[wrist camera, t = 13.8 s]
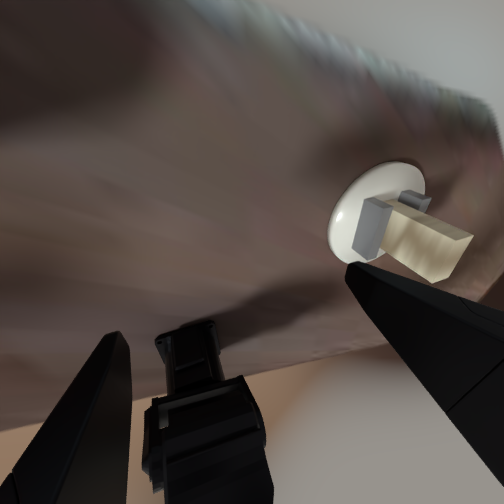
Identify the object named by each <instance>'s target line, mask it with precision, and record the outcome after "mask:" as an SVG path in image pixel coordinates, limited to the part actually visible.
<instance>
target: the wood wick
mask: <svg viewBox="0 0 504 504" xmlns="http://www.w3.org/2000/svg"><path fill="white" fill-rule="evenodd" d="M383 202H385V203H387V204H390V205H392V206H394V207H393V210H392V213H391V216H390V219H389V222H388V225H387V228H386V231H385V234H384V237H383V239H382V242H381V245H380V248H381V249H382V250H384V251H385V252H387V253H388V254H390V255H391V256H393V257H394V258H395V259H397V260H398V261H400V262H401V263H403V264H404V265H406V266H407V267H409V268H410V269H412V270H413V271H415V272H416V273H418V274H419V275H420V276H422V277H423V278H425V279H426V280H428V281H429V282H431V283H435V282H437V281H440V280H443V279H446V278H448V277H449V276H450V274H451V272H452V271H453V269H454V267H455V266H456V264H457V262H458V261H459V259H460V257H461V256H462V254H463V252H464V251H465V249H466V247H467V246H468V244H469V242H470V241H471V239H472V238H473V236H474V235H472V234H470V233H467V232H465V231H463V230H461V229H459V228H456V227H454V226H452V225H450V224H447V223H445V222H443V221H441V220H438V219H436V218H434V217H432V216H429V215H427V214H425V213H423V212H420V211H418V210H416V209H414V208H411V207H409V206H407V205H405V204H402V203H400V202H398V201H396V200H393V199H390V200H386V201H383Z"/></svg>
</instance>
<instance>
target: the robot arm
mask: <svg viewBox="0 0 504 504" xmlns="http://www.w3.org/2000/svg"><path fill="white" fill-rule="evenodd" d="M345 282H346V284H347V285H348V287H349V288H350V290H351V291H352V293H353V294H354V296H355V298H356V299H357V301H358V302H359V304H360V305H361V307H362V308H363V310H364V311H365V313H366V314H367V315H368V317H369V318H370V319H371V320H372V322H373V323H374V324H375V325H376V327H377V328H378V329H379V330H380V332H381V333H382V334H383V336H384V337H385V338H386V339H387V341H388V342H389V343H390V344H391V345H392V347H393V348H394V349H395V351H396V352H397V353H398V354H399V356H400V357H401V358H402V359H403V361H404V362H405V363H406V364H407V366H408V367H409V368H410V370H411V371H412V372H413V373H414V375H415V376H416V377H417V378H418V380H419V381H420V382H421V383H422V385H423V386H424V387H425V388H426V390H427V391H428V392H429V393H430V395H431V396H432V397H433V399H434V400H435V401H436V402H437V404H438V405H439V406H440V407H441V409H442V410H443V411H444V412H445V414H446V415H447V416H448V418H449V419H450V420H451V422H452V423H453V424H454V425H455V427H456V428H457V429H458V430H459V432H460V433H461V434H462V435H463V437H464V438H465V439H466V440H467V442H468V443H469V444H470V446H471V447H472V448H473V449H474V451H475V452H476V453H477V454H478V456H479V457H480V458H481V459H482V461H483V462H484V463H485V464H486V466H487V467H488V468H489V469H490V471H491V472H492V473H493V475H494V476H495V477H496V478H497V480H498V481H499V482H500V483H501V484H502V486H503V487H504V311H501V310H498V309H495V308H491V307H488V306H485V305H482V304H479V303H477V302H474V301H471V300H468V299H465V298H462V297H459V296H458V297H457V296H456V295H454V294H451V293H448V292H445V291H442V290H440V289H437V288H434V287H431V286H428V285H425V284H423V283H420V282H417V281H414V280H411V279H408V278H406V277H403V276H400V275H397V274H394V273H392V272H389V271H386V270H383V269H380V268H377V267H375V266H372V265H369V264H366V263H363V262H360V261H355V262H351V263H349V264H348V266H347V270H346V274H345ZM155 345H156V347H157V349H158V352H159V354H160V356H161V358H162V360H163V362H164V364H165V367H166V383H167V396H164V397H160V398H158V397H156V398H152V406H150V408H148V409H147V410H146V411H145V413H144V440H143V441H144V442H143V453H142V470H143V471H144V472H145V473H146V474H147V475H149V478H150V482H152V484H153V494H154V493H157V492H160V491H162V490H164V498H165V504H273V497H274V485H273V482H272V478H271V475H270V471H269V468H268V464H267V460H266V455H265V451H264V448H265V446H266V433H265V426H264V422H263V418H262V415H261V412H260V409H259V407H258V405H257V403H256V401H255V399H254V397H253V395H252V393H251V391H250V389H249V387H248V385H247V383H246V381H245V379H244V377H243V375H239V376H237V377H236V378H232V379H228V380H225V377H224V373H223V370H222V366H221V362H220V358H219V355H220V353H221V352H220V347H219V342H218V337H217V332H216V327H215V323H214V321H207V322H204V323H201V324H198V325H195V326H191V327H188V328H185V329H182V330H178V331H175V332H172V333H169V334H166V335H162V336H159V337H157V338H155ZM131 413H132V380H131V362H130V349H129V345H128V343H127V342H126V340H125V338H124V337H123V335H122V333H121V332H120V331H115V332H111V333H108V334H106V335H104V336H103V338H102V339H101V341H100V342H99V344H98V345H97V346H96V348H95V349H94V351H93V352H92V354H91V355H90V357H89V358H88V360H87V361H86V362H85V364H84V365H83V367H82V368H81V370H80V371H79V373H78V374H77V376H76V377H75V378H74V380H73V381H72V383H71V384H70V386H69V387H68V389H67V390H66V392H65V393H64V394H63V396H62V397H61V399H60V400H59V402H58V403H57V405H56V406H55V408H54V409H53V410H52V412H51V413H50V415H49V416H48V418H47V419H46V421H45V422H44V424H43V425H42V427H41V428H40V430H39V431H38V432H37V434H36V435H35V437H34V438H33V440H32V441H31V443H30V444H29V445H28V447H27V448H26V450H25V451H24V453H23V454H22V456H21V457H20V459H19V460H18V461H17V463H16V464H15V466H14V467H13V469H12V473H10V474H9V475H8V476H7V477H6V479H5V480H4V482H3V483H2V485H1V486H0V504H126V496H127V495H126V494H127V479H128V462H129V447H130V430H131ZM166 426H167V427H166ZM163 427H164V428H163ZM160 428H162V429H160Z"/></svg>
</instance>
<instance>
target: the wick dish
mask: <svg viewBox="0 0 504 504" xmlns="http://www.w3.org/2000/svg"><path fill="white" fill-rule="evenodd" d="M424 194H425V181H424V178H423V175H422V173H421V172H420V171H419V170H418V168H416V167H415V166H413V165H410V164H406V163H403V162H398V161H391V162H385V163H382V164H379V165H377V166H375V167H373V168H371V169H369V170H368V171H366V172H365V173H363V174H362V175H361V176H359V177H358V178H357V179H356V180H355V181H354V182H353V183H352V184H351V185H350V186H349V187H348V188H347V189H346V191H345V192H344V193H343V195H342V196H341V197H340V199H339V201H338V202H337V204H336V206H335V208H334V210H333V212H332V214H331V217H330V220H329V224H328V231H327V239H328V244H329V247H330V249H331V251H332V252H333V253H334V254H335V255H336V256H337V257H338V258H339V259H340V260H342V261H343V262H346V263H351V262H355V261H360V262H363V263H366V262H369V261H372V260H374V259H376V258H378V257H379V256H381V255H383V254H384V253H386V252H385V251H384V250H382V249H381V248H380V245H381V242H382V239H383V237H384V234H385V231H386V228H387V225H388V222H389V219H390V216H391V213H392V210H393V207H394V206H392V205H390V204H387V203H385V202H383V201H386V200H390V199H393V200H396V201H398V202H400V203H402V204H405V205H407V206H409V207H411V208H414V209H416V210H418V211H420V212H423V213H425V212H426V210H427V208H428V205H429V203H430V201H431V199H432V198H431V197H428V196H426V195H424Z"/></svg>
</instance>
